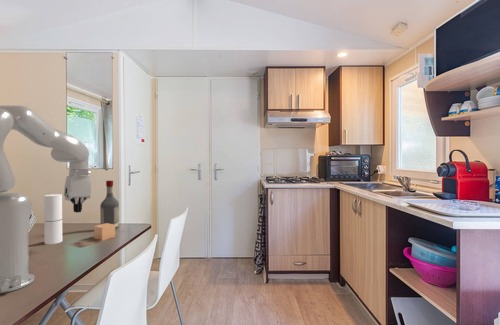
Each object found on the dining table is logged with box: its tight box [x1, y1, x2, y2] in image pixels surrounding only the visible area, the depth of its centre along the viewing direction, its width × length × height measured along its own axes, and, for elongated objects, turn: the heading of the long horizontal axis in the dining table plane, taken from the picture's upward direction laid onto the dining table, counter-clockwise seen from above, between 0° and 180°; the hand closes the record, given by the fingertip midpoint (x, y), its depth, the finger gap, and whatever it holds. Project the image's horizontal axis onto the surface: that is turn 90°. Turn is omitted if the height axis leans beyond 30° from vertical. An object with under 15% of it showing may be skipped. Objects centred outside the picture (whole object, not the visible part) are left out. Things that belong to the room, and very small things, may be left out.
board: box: [68, 235, 120, 248], centre depth 132 cm, size 20×10×2 cm, turn 151°
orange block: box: [93, 223, 116, 241], centre depth 137 cm, size 7×7×6 cm
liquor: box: [99, 180, 120, 230], centre depth 155 cm, size 9×9×30 cm
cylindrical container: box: [43, 193, 63, 245], centre depth 129 cm, size 7×7×25 cm
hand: (77, 212), depth 122 cm, fingers closed
